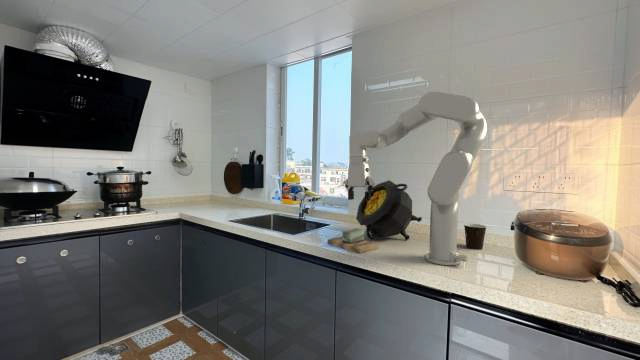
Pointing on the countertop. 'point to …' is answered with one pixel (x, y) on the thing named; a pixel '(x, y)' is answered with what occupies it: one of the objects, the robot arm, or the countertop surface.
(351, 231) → the sanding block
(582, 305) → the countertop surface
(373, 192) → the black cauldron
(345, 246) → the oak board
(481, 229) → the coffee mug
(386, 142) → the robot arm
